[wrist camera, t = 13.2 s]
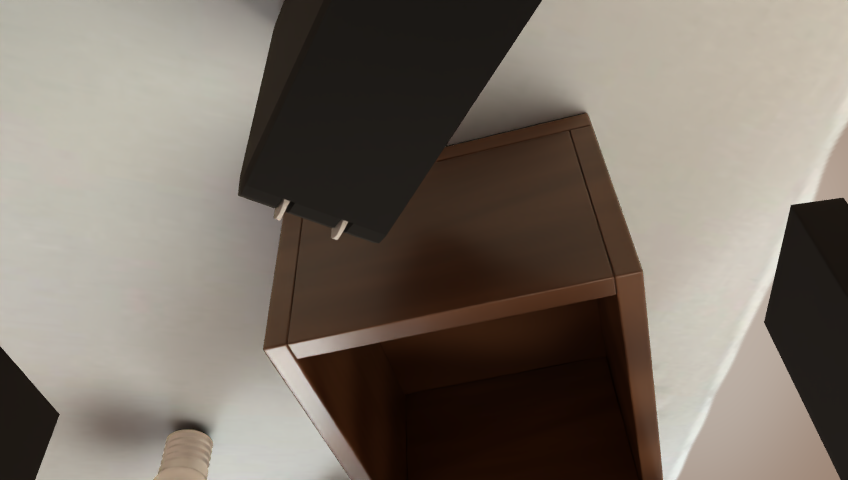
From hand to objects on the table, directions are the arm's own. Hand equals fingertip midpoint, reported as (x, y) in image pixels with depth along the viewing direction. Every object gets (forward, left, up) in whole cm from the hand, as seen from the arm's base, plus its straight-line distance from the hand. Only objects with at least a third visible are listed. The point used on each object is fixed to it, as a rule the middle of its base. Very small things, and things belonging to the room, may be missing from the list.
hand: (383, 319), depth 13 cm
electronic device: (0, 0, -17) cm, 17 cm away
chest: (+17, +1, -17) cm, 24 cm away
